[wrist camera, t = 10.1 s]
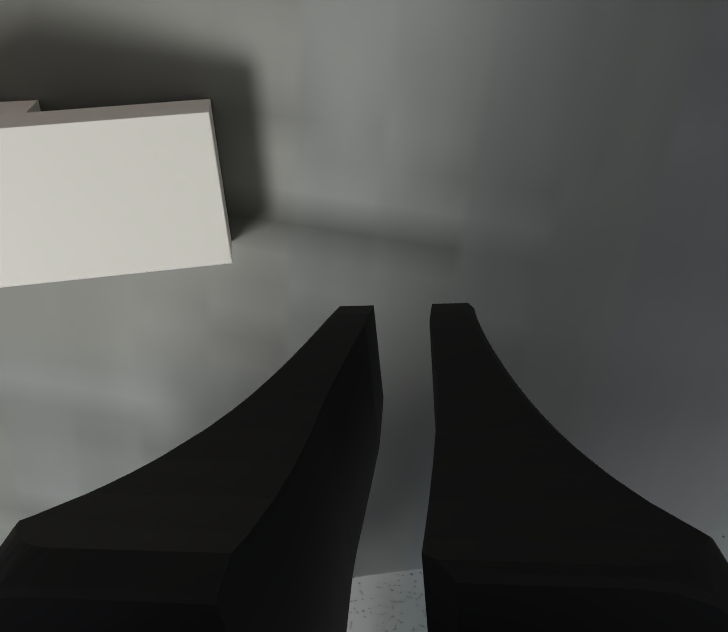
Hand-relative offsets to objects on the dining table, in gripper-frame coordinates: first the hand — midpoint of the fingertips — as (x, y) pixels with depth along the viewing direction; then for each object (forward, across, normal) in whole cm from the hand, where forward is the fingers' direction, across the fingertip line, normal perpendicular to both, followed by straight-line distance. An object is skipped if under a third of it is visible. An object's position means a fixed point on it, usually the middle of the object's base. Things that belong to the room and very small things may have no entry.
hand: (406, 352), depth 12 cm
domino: (+10, +6, 0) cm, 12 cm away
